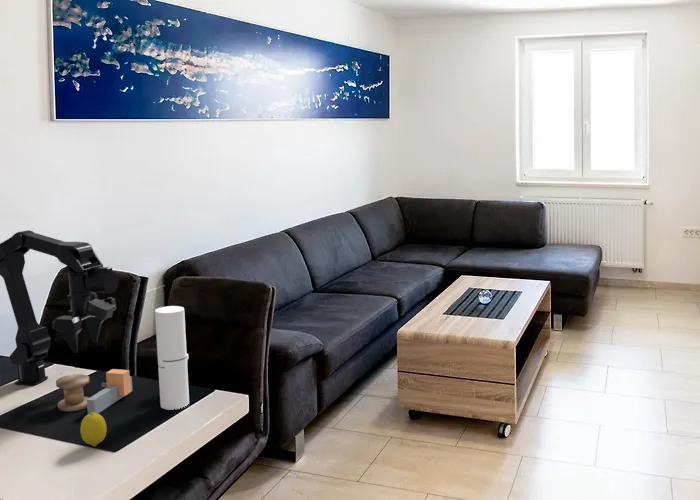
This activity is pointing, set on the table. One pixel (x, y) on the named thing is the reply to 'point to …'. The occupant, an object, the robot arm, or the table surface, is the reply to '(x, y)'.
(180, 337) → the cylindrical container
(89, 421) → the lemon
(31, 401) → the table surface
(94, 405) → the notch board
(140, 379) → the table surface
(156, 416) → the table surface
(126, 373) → the orange block
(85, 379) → the bobbin
